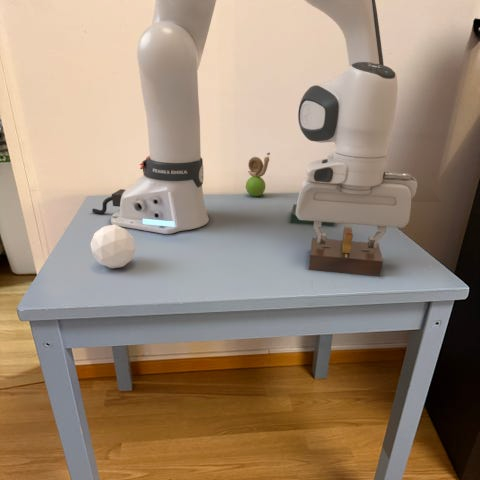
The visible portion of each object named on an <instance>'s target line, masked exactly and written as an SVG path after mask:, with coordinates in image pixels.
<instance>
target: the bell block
mask: <svg viewBox="0 0 480 480" xmlns="http://www.w3.org/2000/svg"><path fill="white" fill-rule="evenodd" d="M296 207H297V203H296V204H295V203H294V204H293V206H292V210H291V214H290V223H291V224H300V225H312V226H314V221H307V220H299V219H298V218H297V216H296ZM321 226H326V227H334V223H332V222H322V223H321Z"/></svg>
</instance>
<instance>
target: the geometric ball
mask: <svg viewBox="0 0 480 480" xmlns="http://www.w3.org/2000/svg"><path fill="white" fill-rule="evenodd" d="M89 244H90V248H91V252H92V253H91V254H92V256H93V257H94V259H95V260H96V261H97V262H98V263H99V265H102V266H103V267H107V268H110V269H111V270H112V269H119V268H123V267H125V266H126V265H127V264H128V263H130V262H131V261H132V260H133V257H134V256H135V252H136V243H135V238H134V237H133V235H131V233H130V232H129V231H128V230H127V229H126V228H125V227H122V226H117V225H112V224H110V225H104V226H102V227H101V228H100V229H98V230H97V231H95V232H94V234H93V235H92V239H91V241H90V243H89Z"/></svg>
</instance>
